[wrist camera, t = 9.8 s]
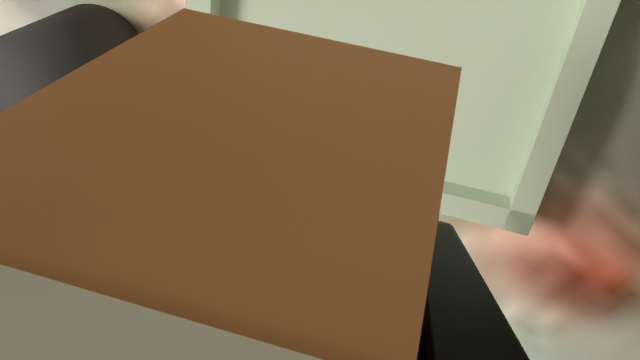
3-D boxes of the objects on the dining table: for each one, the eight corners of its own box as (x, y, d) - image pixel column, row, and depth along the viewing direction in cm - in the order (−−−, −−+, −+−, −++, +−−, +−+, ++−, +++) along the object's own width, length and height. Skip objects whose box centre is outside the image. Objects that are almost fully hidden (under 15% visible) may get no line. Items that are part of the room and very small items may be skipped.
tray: (665, -150, 15) (679, -149, 14) (526, 212, 20) (527, 235, 19) (210, -219, 16) (188, -223, 15) (200, 132, 22) (184, 149, 21)
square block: (465, 65, 9) (405, 509, 3) (403, 292, 11) (303, 782, 6) (181, 4, 10) (-312, 275, 4) (180, 231, 12) (-121, 610, 6)
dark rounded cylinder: (150, 15, 20) (82, 51, 17) (152, 119, 23) (92, 170, 19) (45, -7, 21) (-40, 23, 18) (58, 97, 23) (-17, 141, 20)
